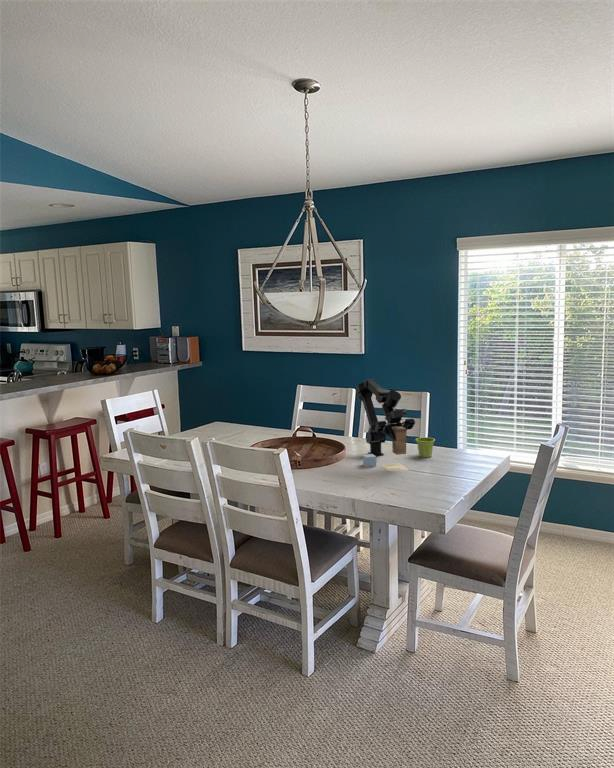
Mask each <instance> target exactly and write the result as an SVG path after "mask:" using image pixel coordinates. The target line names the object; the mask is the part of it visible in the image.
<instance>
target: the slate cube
mask: <svg viewBox="0 0 614 768" xmlns="http://www.w3.org/2000/svg"><path fill="white" fill-rule="evenodd" d="M363 464H364V465H365V468H371V467H370V466H373V467H377V456H375V455H373V454H363V455H362V465H363Z"/></svg>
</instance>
